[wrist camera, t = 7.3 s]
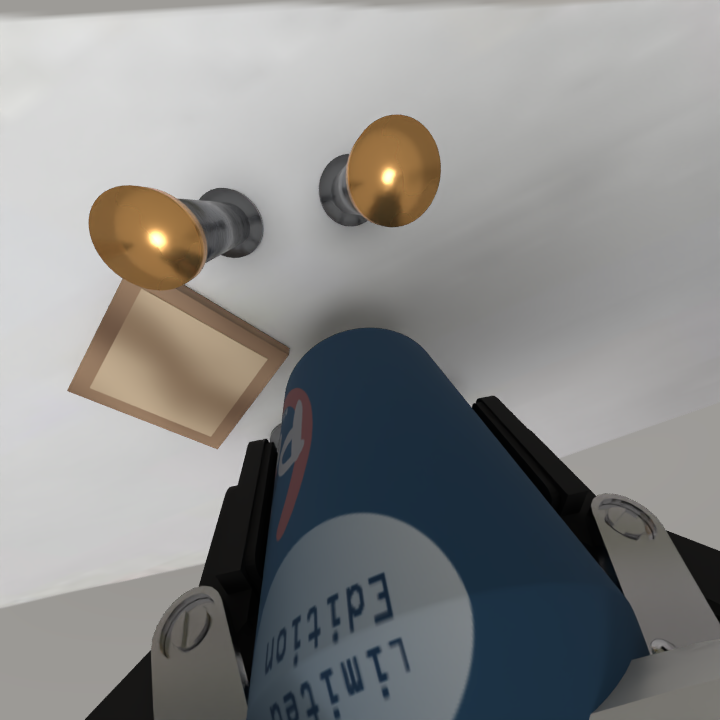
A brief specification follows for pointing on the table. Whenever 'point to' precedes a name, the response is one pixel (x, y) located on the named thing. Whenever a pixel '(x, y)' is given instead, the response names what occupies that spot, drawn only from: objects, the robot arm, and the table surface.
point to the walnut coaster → (177, 362)
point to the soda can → (420, 559)
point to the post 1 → (170, 233)
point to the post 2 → (383, 175)
